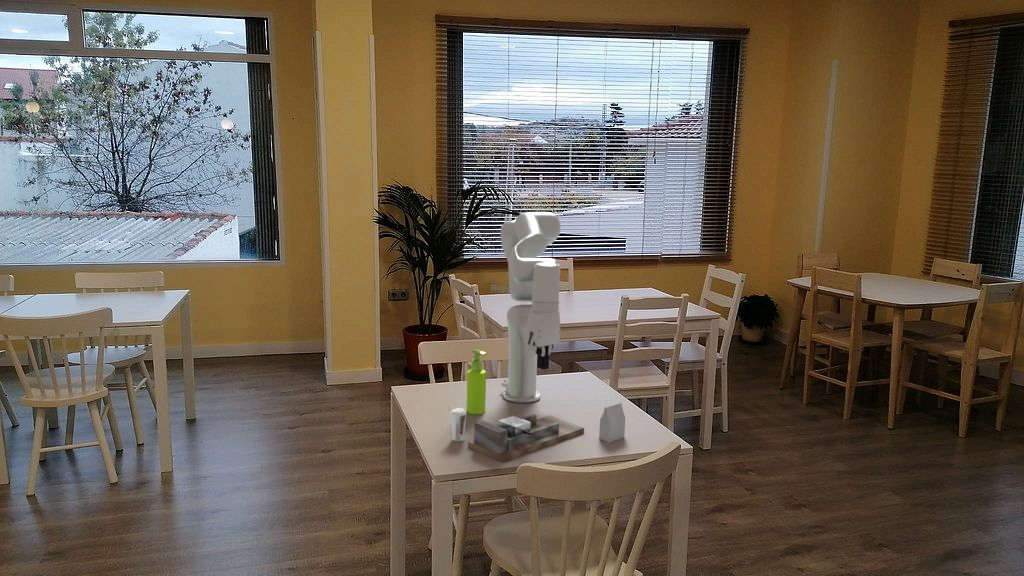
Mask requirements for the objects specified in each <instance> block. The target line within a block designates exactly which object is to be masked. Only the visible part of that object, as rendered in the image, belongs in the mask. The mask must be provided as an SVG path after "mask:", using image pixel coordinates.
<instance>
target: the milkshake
mask: <svg viewBox="0 0 1024 576" xmlns="http://www.w3.org/2000/svg"><path fill="white" fill-rule="evenodd" d="M447 408H448V410H449V412H450V413H449V414H450V423H451V438H452V441H453V442H456V443H457V442H459V443H461V442H464V440H465V435H466V434H465V433H466V432H465V431H466V421H467V414H468V412H467V410H466V409H464V408H462V407H456V408H453V409H452V410H451V409H450V407H449V406H447Z"/></svg>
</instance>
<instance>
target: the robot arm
mask: <svg viewBox="0 0 1024 576" xmlns="http://www.w3.org/2000/svg"><path fill="white" fill-rule="evenodd" d="M560 233H561V222H560V218H559V217H558V215H557V214H555V213H554V212H537V211H536V212H533V211H532V212H523V213H521V214H518V216H517V217H515V219H514V220H513V219H512V220H507V221H505V222H504V223H503V224H502V226H501V228H500V242H501V246H502V249H503V252H504V256H505V257H506V261H507V265H508V282H509V294H510V297H511V299H512V300H513V301H515V302H519V303H520V302H522V303H531V304H516V305H513V306H510V307H509V309H508V310H507V312H506V313H507V314H506V323H507V330H508V331H507V332H508V333H507V334H508V369H507V370H508V371H507V378H506V379H504V381H503V382H501V386H502V387H505V391H503V393H502V397H503V399H504V400H507V401H508V402H513V403H518V404H519V403H521V404H522V403H523V404H525V403H527V404H528V403H533V402H537V401H539V400H540V399H541V396H542V395H541V393H540V392H539V391H537V377H538V376H537V372H538V371H537V369H539V370H540V369H541V370H543V371H545V370H548V369H549V365H550V355H551V354H552V350H553V349H554V348H555V347H557V346H558V344H559V343H558V342H560V341H561V340H560V339H561V317H560V305H559V304H560V299H559V298H560V296H559V295H560V277H561V265H560V264H559V261H557V259H555V258H551V257H550V258H549V257H545V258H544V257H543V258H541V257H539V256H540V255H542V254H543V253H544V252H545V251H546V249H547V247H548V246H550V245H552V244H553V243H554V242H555V241H556V240H557V239H558V237H559V236H560Z"/></svg>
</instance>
